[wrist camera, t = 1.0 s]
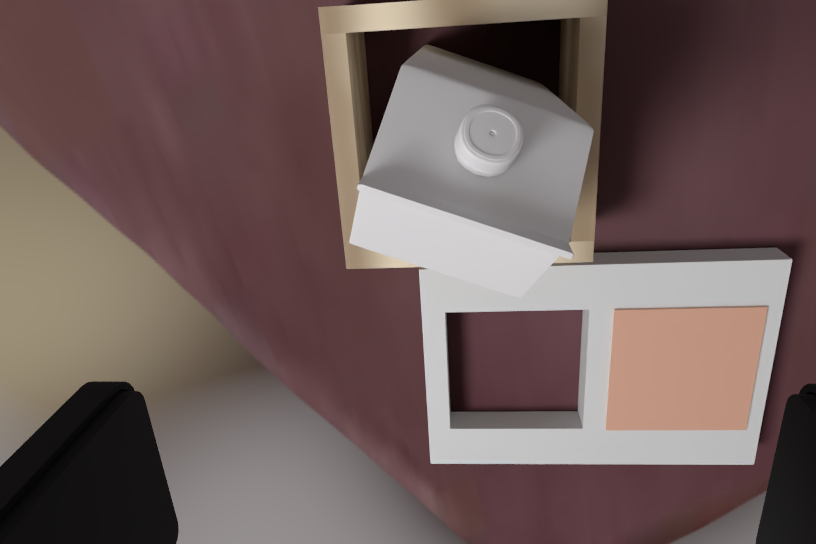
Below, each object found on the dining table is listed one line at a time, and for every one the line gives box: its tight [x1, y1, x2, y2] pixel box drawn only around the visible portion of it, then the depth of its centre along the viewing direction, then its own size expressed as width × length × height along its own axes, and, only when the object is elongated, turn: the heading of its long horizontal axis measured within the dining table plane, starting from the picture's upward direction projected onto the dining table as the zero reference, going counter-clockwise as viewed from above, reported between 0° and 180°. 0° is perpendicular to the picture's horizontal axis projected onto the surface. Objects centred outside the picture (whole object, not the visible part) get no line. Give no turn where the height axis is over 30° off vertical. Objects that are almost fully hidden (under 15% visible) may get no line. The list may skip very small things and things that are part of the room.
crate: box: [318, 0, 608, 269], centre depth 34 cm, size 13×13×6 cm
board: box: [419, 248, 793, 465], centre depth 41 cm, size 22×15×2 cm
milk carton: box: [349, 45, 594, 298], centre depth 28 cm, size 7×7×19 cm
